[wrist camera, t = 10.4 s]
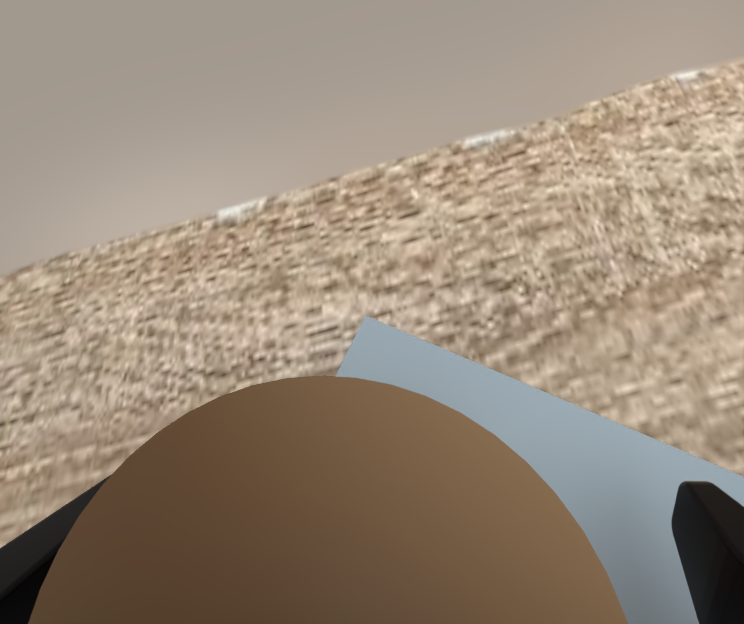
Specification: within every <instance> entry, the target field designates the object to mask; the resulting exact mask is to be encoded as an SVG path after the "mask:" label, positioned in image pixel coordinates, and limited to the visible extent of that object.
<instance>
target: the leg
mask: <svg viewBox="0 0 744 624" xmlns="http://www.w3.org/2000/svg"><path fill="white" fill-rule="evenodd" d="M28 624H628V622H627V619H626V616H625V614H624V612H623V609H622V607H621V605H620V602H619V600H618V597H617V595H616V593H615V590H614V588H613V586H612V583H611V581H610V579H609V576H608V574H607V572H606V570H605V568H604V566H603V565H602V563H601V561H600V559H599V558H598V556H597V554H596V552H595V551H594V549H593V547H592V545H591V544H590V542H589V540H588V538H587V536H586V535H585V533H584V531H583V530H582V528H581V527H580V526H579V524H578V523H577V521H576V520H575V519H574V517H573V516H572V515H571V513H570V512H569V511H568V509H567V508H566V506H565V505H564V504H563V502H562V501H561V500H560V498H559V497H558V495H557V494H556V493H555V492H554V491H553V490H552V489H551V487H550V486H549V485H548V484H547V483H546V482H545V481H544V480H543V479H542V478H541V477H540V476H539V475H538V474H537V472H536V471H535V470H534V469H533V468H532V467H531V466H530V465H529V464H528V463H527V462H526V461H525V460H524V459H523V458H522V457H520V456H519V455H518V454H517V453H516V452H515V451H513V450H512V449H511V448H510V447H509V446H507V445H506V444H505V443H504V442H503V441H501V440H500V439H499V438H498V437H497V436H496V435H494V434H493V433H491V432H490V431H488V430H487V429H485V428H484V427H482V426H481V425H479V424H477V423H476V422H474V421H473V420H471V419H470V418H468V417H467V416H465V415H464V414H462V413H460V412H458V411H456V410H454V409H452V408H450V407H448V406H446V405H444V404H442V403H440V402H438V401H436V400H434V399H431V398H429V397H427V396H425V395H422V394H419V393H416V392H413V391H410V390H407V389H404V388H401V387H398V386H394V385H391V384H386V383H381V382H376V381H371V380H365V379H360V378H352V377H334V376H311V377H298V378H286V379H281V380H276V381H272V382H267V383H262V384H257V385H253V386H249V387H247V388H244V389H241V390H238V391H235V392H232V393H230V394H227V395H224V396H221V397H218V398H216V399H214V400H212V401H210V402H208V403H206V404H204V405H202V406H200V407H198V408H196V409H194V410H192V411H190V412H188V413H187V414H185V415H183V416H182V417H180V418H179V419H177V420H176V421H174V422H173V423H171V424H170V425H168V426H167V427H165V428H164V429H162V430H161V431H159V432H158V433H156V434H155V435H154V436H153V437H152V438H151V439H149V440H148V441H147V442H146V443H145V444H143V445H142V446H141V447H140V448H139V449H138V450H136V451H135V452H134V453H133V454H132V455H130V456H129V457H128V458H127V459H126V460H125V461H124V463H123V464H122V465H121V466H120V467H119V468H118V469H117V470H116V471H115V472H114V473H113V474H112V475H111V476H110V477H109V478H108V479H107V481H106V482H105V483H104V484H103V485H102V486H101V488H100V489H99V490H98V491H97V493H96V494H95V495H94V497H93V498H92V499H91V501H90V502H89V503H88V505H87V506H86V507H85V509H84V510H83V511H82V513H81V514H80V515H79V517H78V519H77V520H76V522H75V524H74V525H73V527H72V529H71V530H70V532H69V534H68V535H67V537H66V539H65V540H64V542H63V544H62V545H61V547H60V549H59V550H58V552H57V554H56V556H55V559H54V561H53V563H52V565H51V567H50V569H49V571H48V573H47V576H46V578H45V580H44V582H43V584H42V586H41V588H40V591H39V594H38V597H37V600H36V603H35V605H34V608H33V611H32V614H31V617H30V620H29V623H28Z"/></svg>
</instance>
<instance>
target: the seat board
mask: <svg viewBox="0 0 744 624" xmlns="http://www.w3.org/2000/svg"><path fill="white" fill-rule="evenodd" d="M335 377H352V378H360V379H365V380H371V381H376V382H381V383H386V384H391V385H394V386H398V387H401V388H404V389H407V390H410V391H413V392H416V393H419V394H422V395H425V396H427V397H429V398H431V399H434V400H436V401H438V402H440V403H442V404H444V405H446V406H448V407H450V408H452V409H454V410H456V411H458V412H460V413H462V414H464V415H465V416H467V417H468V418H470V419H471V420H473V421H474V422H476V423H477V424H479V425H481V426H482V427H484V428H485V429H487V430H488V431H490V432H491V433H493V434H494V435H496V436H497V437H498V438H499V439H500V440H501V441H503V442H504V443H505V444H506V445H507V446H509V447H510V448H511V449H512V450H513V451H515V452H516V453H517V454H518V455H519V456H520V457H522V458H523V459H524V460H525V461H526V462H527V463H528V464H529V465H530V466H531V467H532V468H533V469H534V470H535V471H536V472H537V474H538V475H539V476H540V477H541V478H542V479H543V480H544V481H545V482H546V483H547V484H548V485H549V486H550V487H551V489H552V490H553V491H554V492H555V493H556V494H557V495H558V497H559V498H560V500H561V501H562V502H563V504H564V505H565V506H566V508H567V509H568V511H569V512H570V513H571V515H572V516H573V517H574V519H575V520H576V521H577V523H578V524H579V526H580V527H581V528H582V530H583V531H584V533H585V535H586V536H587V538H588V540H589V542H590V544H591V545H592V547H593V549H594V551H595V552H596V554H597V556H598V558H599V559H600V561H601V563H602V565H603V566H604V568H605V570H606V572H607V574H608V576H609V579H610V581H611V583H612V586H613V588H614V590H615V593H616V595H617V597H618V600H619V602H620V605H621V607H622V609H623V612H624V614H625V616H626V619H627V622H628V624H699V622H698V619H697V615H696V612H695V609H694V605H693V602H692V598H691V595H690V591H689V588H688V585H687V581H686V578H685V574H684V571H683V567H682V564H681V561H680V557H679V554H678V550H677V547H676V543H675V540H674V537H673V533H672V525H671V520H672V514H673V509H674V505H675V500H676V495H677V491H678V487H679V485H680V484H681V483H682V482H684V481H708V482H711V483H713V484H715V485H716V486H718V487H719V488H720V489H721V490H723V491H724V492H725V493H727V494H728V495H729V496H731V497H732V498H733V499H735V500H736V501H737V502H739V503H740V504H741V505H742V506H744V477H743V476H740V475H738V474H736V473H733V472H731V471H728V470H726V469H724V468H721V467H719V466H717V465H714V464H712V463H710V462H707V461H705V460H703V459H700V458H698V457H696V456H693V455H691V454H689V453H686V452H684V451H682V450H679V449H677V448H675V447H672V446H670V445H668V444H665V443H663V442H661V441H658V440H656V439H654V438H651V437H649V436H647V435H644V434H642V433H640V432H637V431H635V430H633V429H630V428H628V427H625V426H623V425H621V424H618V423H616V422H614V421H611V420H609V419H607V418H604V417H602V416H600V415H597V414H595V413H593V412H590V411H588V410H586V409H583V408H581V407H579V406H576V405H574V404H572V403H569V402H567V401H565V400H562V399H560V398H558V397H555V396H553V395H551V394H548V393H546V392H544V391H541V390H539V389H537V388H534V387H532V386H530V385H527V384H525V383H523V382H520V381H518V380H515V379H513V378H511V377H508V376H506V375H504V374H501V373H499V372H497V371H494V370H492V369H490V368H487V367H485V366H483V365H480V364H478V363H476V362H473V361H471V360H469V359H466V358H464V357H462V356H459V355H457V354H455V353H452V352H450V351H448V350H445V349H443V348H441V347H438V346H436V345H434V344H431V343H429V342H427V341H424V340H422V339H420V338H417V337H415V336H412V335H410V334H408V333H405V332H403V331H401V330H398V329H396V328H394V327H391V326H389V325H387V324H384V323H382V322H380V321H377V320H375V319H373V318H370V317H368V316H365V318H364V320H363V322H362V324H361V326H360V328H359V330H358V332H357V334H356V336H355V338H354V340H353V342H352V344H351V346H350V348H349V350H348V352H347V354H346V356H345V358H344V360H343V362H342V364H341V366H340V368H339V370H338V372H337V374H336V376H335Z"/></svg>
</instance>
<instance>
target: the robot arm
mask: <svg viewBox="0 0 744 624" xmlns="http://www.w3.org/2000/svg"><path fill="white" fill-rule="evenodd" d="M110 476H111V475H110ZM110 476H109V477H110ZM109 477H107V478H106V479H104V480H103V481H101V482H100V483H98V484H97V485H95V486H94V487H92V488H91V489H89V490H88V491H86V492H85V493H83V494H81V495H80V496H78V497H77V498H75V499H74V500H72V501H71V502H69V503H68V504H66V505H65V506H63V507H62V508H60V509H59V510H57V511H56V512H54V513H53V514H51V515H50V516H48V517H47V518H45V519H44V520H42V521H41V522H39V523H38V524H36V525H35V526H33V527H32V528H30V529H29V530H27V531H26V532H24V533H23V534H21V535H20V536H18V537H17V538H15V539H14V540H12V541H11V542H9V543H8V544H6V545H5V546H3V547H2V548H0V624H28V623H29V620H30V617H31V614H32V611H33V608H34V605H35V603H36V600H37V597H38V594H39V591H40V588H41V586H42V584H43V582H44V580H45V578H46V576H47V573H48V571H49V569H50V567H51V565H52V563H53V561H54V559H55V556H56V554H57V552H58V550H59V549H60V547H61V545H62V544H63V542H64V540H65V539H66V537H67V535H68V534H69V532H70V530H71V529H72V527H73V525H74V524H75V522H76V520H77V519H78V517H79V515H80V514H81V513H82V511H83V510H84V509H85V507H86V506H87V505H88V503H89V502H90V501H91V499H92V498H93V497H94V495H95V494H96V493H97V491H98V490H99V489H100V488H101V486H102V485H103V484H104V483H105V482H106V481H107V479H108V478H109ZM671 525H672V533H673V537H674V540H675V543H676V547H677V550H678V554H679V557H680V561H681V564H682V567H683V571H684V574H685V578H686V581H687V585H688V588H689V591H690V595H691V598H692V602H693V605H694V609H695V612H696V615H697V619H698V622H699V624H744V506H742V505H741V504H740V503H739V502H737V501H736V500H735V499H733V498H732V497H731V496H729V495H728V494H727V493H725V492H724V491H723V490H721V489H720V488H719V487H718V486H716V485H715V484H713V483H711V482H708V481H684V482H682V483H681V484H680V485H679V487H678V491H677V495H676V500H675V505H674V509H673V514H672V520H671Z"/></svg>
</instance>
